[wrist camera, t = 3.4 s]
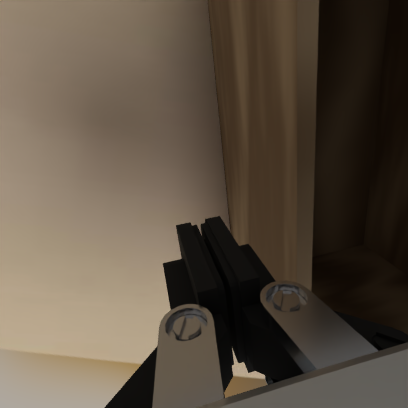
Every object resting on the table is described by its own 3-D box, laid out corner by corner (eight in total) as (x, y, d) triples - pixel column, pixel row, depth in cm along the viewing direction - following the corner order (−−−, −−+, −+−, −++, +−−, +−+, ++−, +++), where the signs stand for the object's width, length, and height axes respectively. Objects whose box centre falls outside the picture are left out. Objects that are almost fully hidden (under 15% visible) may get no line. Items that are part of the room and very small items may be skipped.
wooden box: (395, -42, 22) (659, -165, 11) (364, 245, 31) (487, 332, 20) (205, -26, 19) (298, -161, 9) (235, 277, 29) (296, 393, 18)
